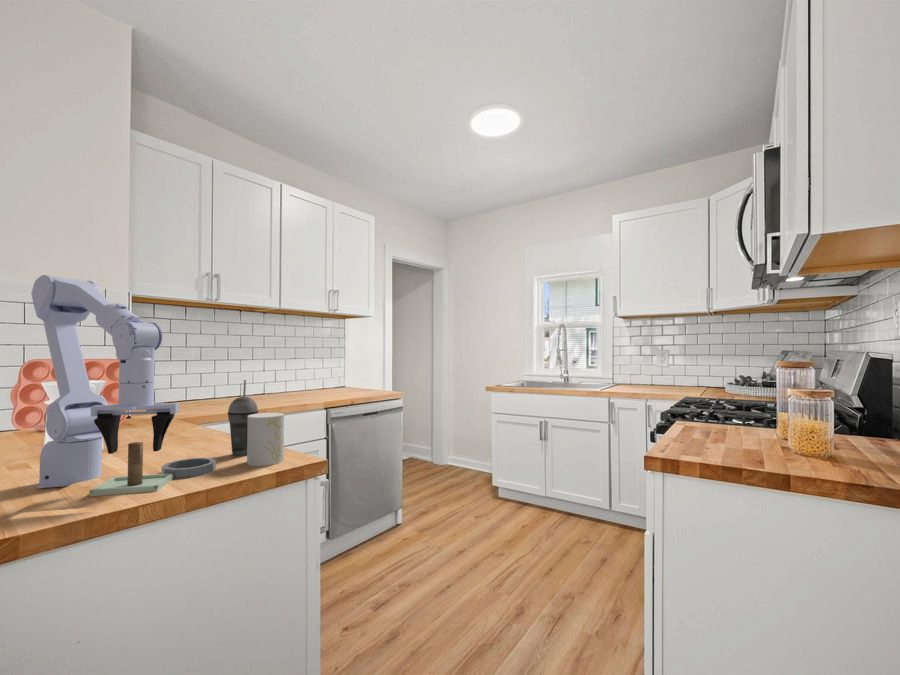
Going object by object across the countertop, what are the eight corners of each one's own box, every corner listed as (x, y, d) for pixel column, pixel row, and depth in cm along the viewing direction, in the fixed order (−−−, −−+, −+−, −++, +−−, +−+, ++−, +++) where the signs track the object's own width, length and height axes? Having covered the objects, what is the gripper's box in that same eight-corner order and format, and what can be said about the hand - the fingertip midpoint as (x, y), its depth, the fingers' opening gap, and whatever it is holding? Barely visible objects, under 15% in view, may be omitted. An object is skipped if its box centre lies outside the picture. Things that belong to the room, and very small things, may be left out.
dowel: (124, 486, 85) (125, 444, 85) (131, 482, 87) (132, 442, 87) (138, 485, 85) (139, 444, 85) (144, 481, 87) (145, 441, 88)
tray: (89, 500, 80) (89, 490, 80) (113, 485, 89) (113, 477, 89) (157, 495, 83) (157, 485, 83) (174, 481, 92) (174, 472, 92)
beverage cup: (252, 452, 118) (253, 378, 119) (262, 457, 113) (262, 379, 113) (223, 457, 113) (224, 379, 114) (231, 462, 108) (232, 381, 108)
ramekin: (154, 483, 90) (154, 470, 90) (171, 471, 100) (172, 459, 100) (207, 479, 93) (208, 467, 93) (219, 467, 103) (220, 456, 103)
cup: (270, 470, 100) (271, 417, 101) (239, 468, 102) (239, 417, 102) (290, 461, 108) (290, 413, 109) (261, 460, 110) (261, 412, 110)
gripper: (82, 384, 81) (80, 458, 81) (170, 383, 85) (169, 453, 84) (102, 382, 88) (100, 450, 87) (182, 380, 91) (181, 446, 91)
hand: (135, 451), depth 86 cm, fingers open, 7 cm apart
